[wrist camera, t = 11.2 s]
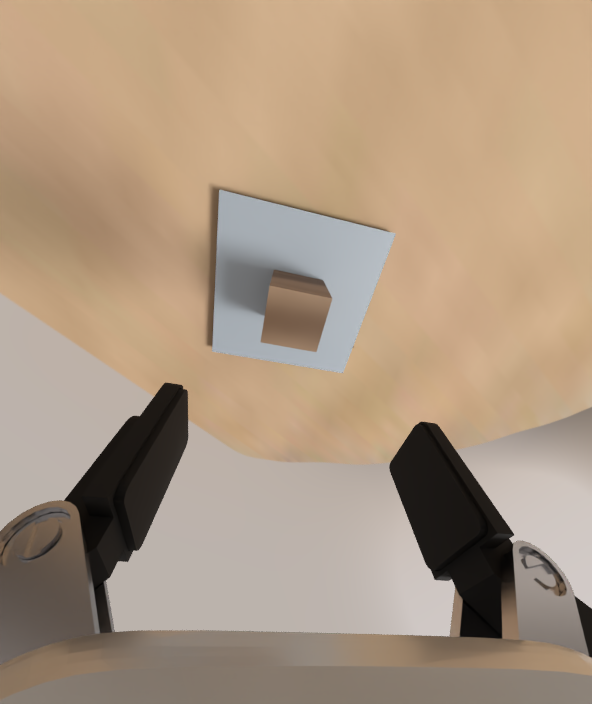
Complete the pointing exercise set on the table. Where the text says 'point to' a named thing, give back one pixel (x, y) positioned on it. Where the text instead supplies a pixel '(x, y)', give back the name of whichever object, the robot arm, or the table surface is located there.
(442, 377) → the table surface
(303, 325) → the walnut block
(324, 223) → the slate board
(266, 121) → the table surface
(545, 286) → the table surface
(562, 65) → the table surface
